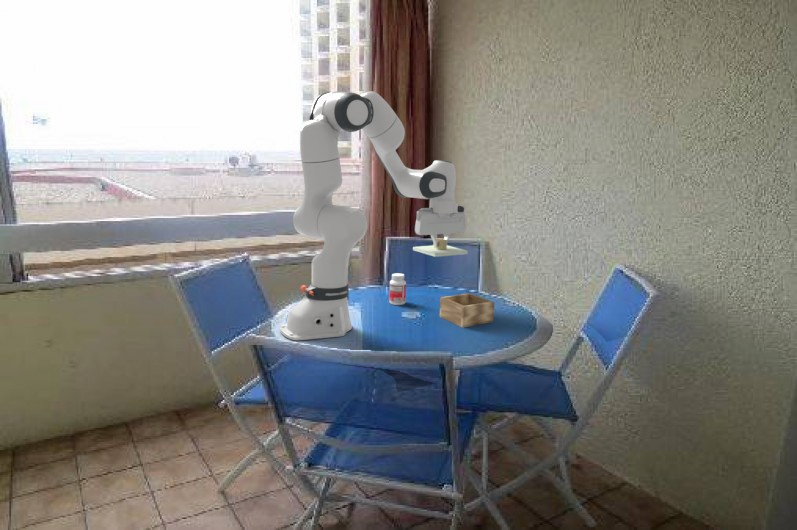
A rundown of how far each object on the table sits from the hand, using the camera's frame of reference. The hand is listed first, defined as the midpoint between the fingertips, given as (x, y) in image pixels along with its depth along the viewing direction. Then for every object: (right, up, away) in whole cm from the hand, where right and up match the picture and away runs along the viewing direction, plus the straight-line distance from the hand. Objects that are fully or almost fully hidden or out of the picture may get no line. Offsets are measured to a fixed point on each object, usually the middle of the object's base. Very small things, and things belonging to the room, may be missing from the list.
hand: (440, 246), depth 183 cm
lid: (0, -2, 0) cm, 2 cm away
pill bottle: (-15, -21, +10) cm, 28 cm away
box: (+8, -25, -8) cm, 28 cm away
